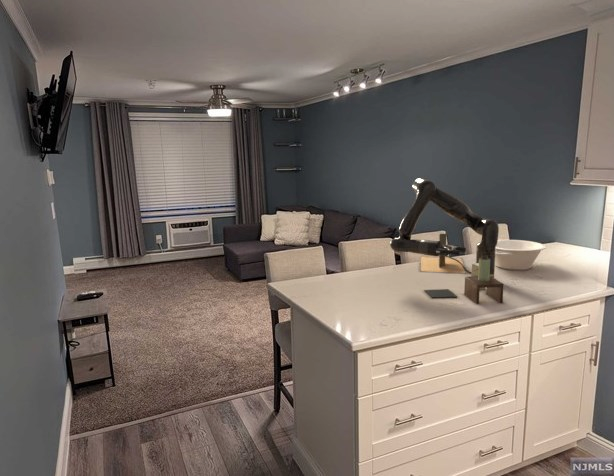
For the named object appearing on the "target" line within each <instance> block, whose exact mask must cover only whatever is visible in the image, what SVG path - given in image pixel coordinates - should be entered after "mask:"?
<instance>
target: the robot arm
mask: <svg viewBox="0 0 614 476" xmlns="http://www.w3.org/2000/svg"><path fill="white" fill-rule="evenodd" d="M412 189H413V192H414V194H415V195H416V197H415V201H414V202H413V204H412V206H411V207H410V208H409V210H407V212H406V213H405V216H404V217H403V218H402V221H401V222H400V226H399V228H398V232H399V235H398V237H394V238H393V239H392V240H391V241H390V243H389V247H390V248H391V250H392V251H394V252H397V253H398V252H399V253H412V254H417V255H418V254H419V255H423V256H430V257H431V256H432V257H439V255H445V258H452V259H454V258H455V257H452V256H459V255H460V254H461V253H466V252H467V248H466V247H463V246H459V245H458V244H447V243H446V245H444V246H442V245H441V242H440V241H439V240H433V239H431V240H430V239H418V238H417V239H413V238H412V234H413V232H414V230H415V228H416V225H417V223H418V222H419V219H420V217H421V215H422V214H423V212H424V211H425V209H426V207H427V206H428V204H429V202H431V203H433V204H434V205H435V206H437V208H439V209H440V210H441V211H443V212H444V213H445V214H447V215H448V216H450V217H452V218H453V219H455V220H457V221H459V222H461V223H463V224H464V225H466V226H468V227H469V228H470V229H472V230H473V231H474V233H476V234H478V235H479V236H481V240H480V242H477V243H476V254H475V263H479V258H482V254H487V255H488V258H489V259H490V276H491V277H493V278H494V279H495V269H496V268H495V267H496V265H495V248H496V245H497V242H498V240H499V231H500V227H499V224H498V222H497V221H496V220H495V219H491V218H486V217H483V216H480V215H479V214H477V213H475V212H473V211H472V210H471V208H470V206H468V204H466V203H465V202H464V201H463V200H461V199H459V198H457V196H454V195H452V194H450V193H448V192H446V191H444V190H441V188H438V187H437V186H436V184H435V183H434V181H432V180H430V179H428V178H426V177H419V178H416V179H415V180H414V181H413V183H412ZM451 255H452V256H451ZM454 260H456V259H454ZM456 261H458V260H456ZM458 262H459V263H460V264H461V265H462V266H463V265H464V263H463V264H462V263H461V262H460V261H458ZM463 268H464V269H465V271H466V273H469V274H471V272H472V271H469V270H468V269H466V267H465V265H464V266H463Z"/></svg>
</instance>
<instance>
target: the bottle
mask: <svg viewBox="0 0 614 476" xmlns="http://www.w3.org/2000/svg"><path fill="white" fill-rule="evenodd" d="M489 276H490V259H489V258H488V255H487V254H482V258H479V271H478V280H479V281H485V282H486V281H489Z"/></svg>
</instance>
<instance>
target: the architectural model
mask: <svg viewBox="0 0 614 476" xmlns="http://www.w3.org/2000/svg"><path fill="white" fill-rule="evenodd" d="M438 241H440V242H441V245H442V246H444V245H447V231H444V233H441V230H439V231H438ZM452 258H454V259H456V260H458V261H460V262H461V263H462V264H463V266H464V267H465V265H464V262H463V259H462V258H460V257H459V258H458V257H456V258H455V257H452ZM452 258H449V257H446V256H445V255H439V256H437V257H429V256H427V257H426V256H421V257H420V272H428V273H429V272H431V273H456V274H467V271H465V269H466V268H465V269H464V268H463V266H462V265H461V264H460V263H459V262H458V261H456V260H454V259H452Z"/></svg>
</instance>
